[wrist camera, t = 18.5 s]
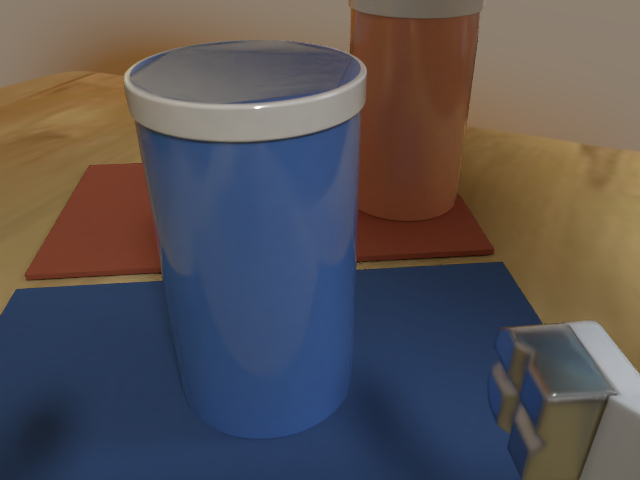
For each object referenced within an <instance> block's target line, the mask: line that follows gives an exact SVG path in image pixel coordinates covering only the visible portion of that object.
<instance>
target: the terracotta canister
mask: <svg viewBox="0 0 640 480" xmlns="http://www.w3.org/2000/svg"><path fill="white" fill-rule="evenodd" d="M349 6H350V7H351V29H350V54H352V55H354V56H356V57H357V58H359V59H360V60H361V61H362V62H363V63H364V64H365V66H366V69H367V93H366V102H365V104H364V106H363V108H362V120H361V149H360V178H359V208H358V209H359V210H360V211H362V212H364V213H367V214H369V215H372V216H375V217H378V218H382V219H387V220H394V221H421V220H428V219H432V218H435V217H438V216H441V215H443V214H445V213H447V212H448V211H450V210H451V209H452V208H453V206H454V205H455V203H456V200H457V193H458V185H459V178H460V170H461V162H462V155H463V147H464V140H465V132H466V125H467V116H468V110H469V102H470V95H471V87H472V79H473V71H474V64H475V57H476V49H477V42H478V34H479V27H480V19H481V12H482V10H483V9H484V8H485V0H349Z"/></svg>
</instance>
